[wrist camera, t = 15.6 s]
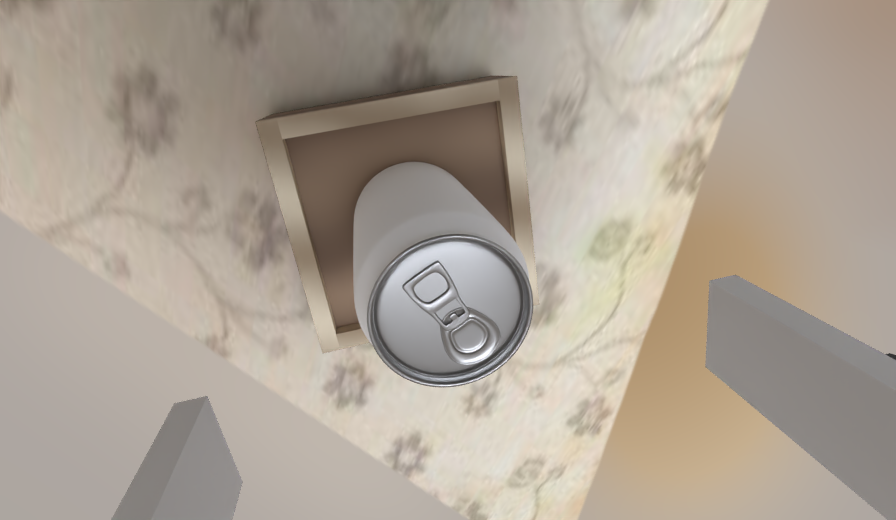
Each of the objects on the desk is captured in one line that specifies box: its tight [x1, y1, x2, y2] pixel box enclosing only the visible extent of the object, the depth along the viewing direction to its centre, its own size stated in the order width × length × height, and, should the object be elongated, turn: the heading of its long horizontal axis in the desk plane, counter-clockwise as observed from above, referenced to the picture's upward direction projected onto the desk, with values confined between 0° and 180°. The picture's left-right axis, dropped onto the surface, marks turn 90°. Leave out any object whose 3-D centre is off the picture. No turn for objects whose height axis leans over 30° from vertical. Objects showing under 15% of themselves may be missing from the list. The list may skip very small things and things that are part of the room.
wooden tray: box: [255, 76, 539, 353], centre depth 29 cm, size 13×13×5 cm
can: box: [353, 162, 533, 387], centre depth 22 cm, size 6×6×12 cm
